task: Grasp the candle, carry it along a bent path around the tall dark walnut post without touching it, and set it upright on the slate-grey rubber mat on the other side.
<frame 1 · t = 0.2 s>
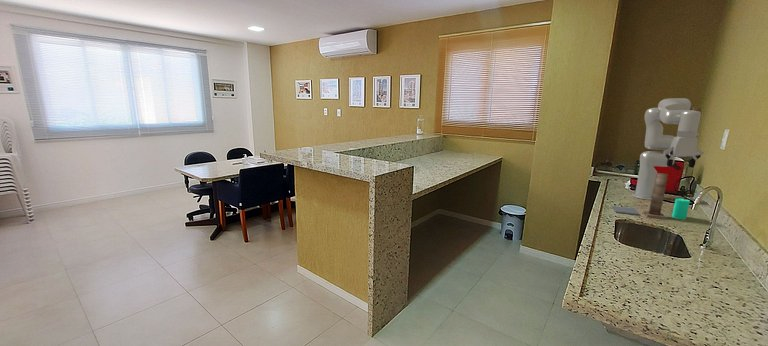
hand: (680, 166, 168), 30 cm above the counter, tool pointing down, fingers open, 9 cm apart
post: (653, 216, 180), on the counter
candle: (678, 217, 178), on the counter
mat: (624, 211, 189), on the counter
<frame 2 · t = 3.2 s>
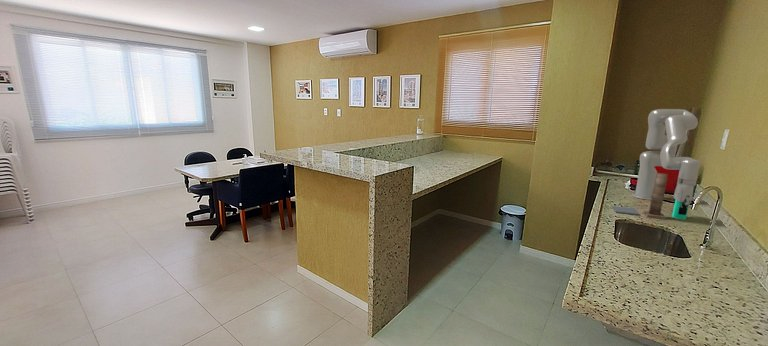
hand: (680, 212, 177), 3 cm above the counter, tool pointing down, fingers closed on candle, 4 cm apart
candle: (678, 217, 178), on the counter, touching gripper
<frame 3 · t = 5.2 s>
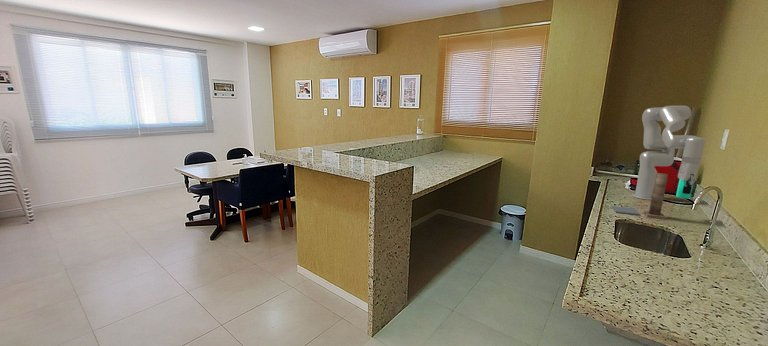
hand: (684, 191, 175), 15 cm above the counter, tool pointing down, fingers closed on candle, 4 cm apart
candle: (682, 197, 176), point 12 cm above the counter, touching gripper
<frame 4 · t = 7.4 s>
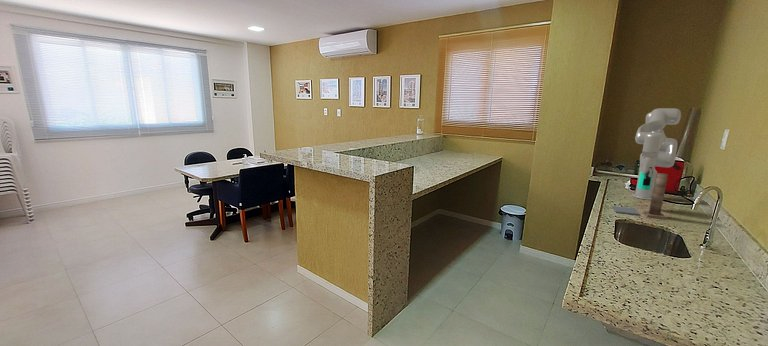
hand: (644, 183, 191), 15 cm above the counter, tool pointing down, fingers closed on candle, 4 cm apart
candle: (643, 188, 191), point 12 cm above the counter, touching gripper
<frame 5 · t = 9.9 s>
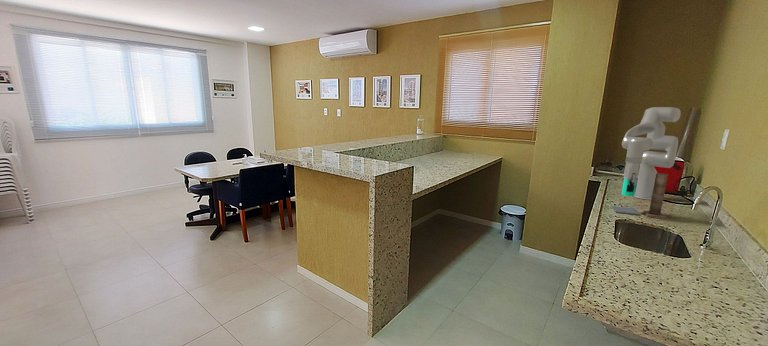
hand: (628, 190, 186), 13 cm above the counter, tool pointing down, fingers closed on candle, 4 cm apart
candle: (627, 195, 186), point 10 cm above the counter, touching gripper
when the fingers open (5 cm above the counter, at t = 12.0 s): candle drops 1 cm, resting on mat.
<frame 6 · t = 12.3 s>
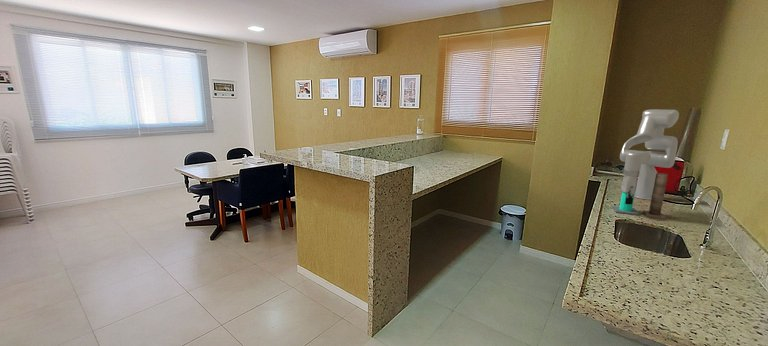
hand: (626, 201, 187), 6 cm above the counter, tool pointing down, fingers open, 8 cm apart
candle: (625, 209, 189), point 1 cm above the counter, touching mat
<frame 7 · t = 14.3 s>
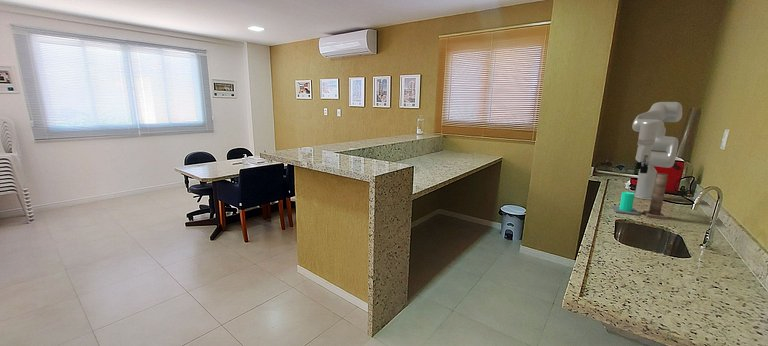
hand: (641, 171, 186), 24 cm above the counter, tool pointing down, fingers open, 9 cm apart
nothing on the counter moved.
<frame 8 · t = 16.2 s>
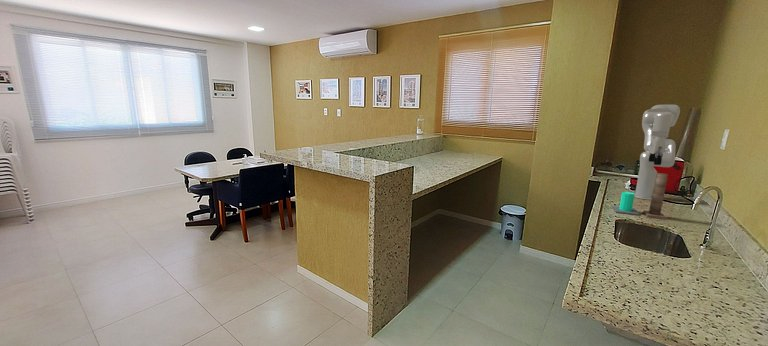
hand: (654, 163, 187), 28 cm above the counter, tool pointing down, fingers open, 9 cm apart
nothing on the counter moved.
at the end: candle inside the target area on the mat (0.4 cm from its centre), point 0.8 cm above the mat's base; candle tilted 0°; candle touching mat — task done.
